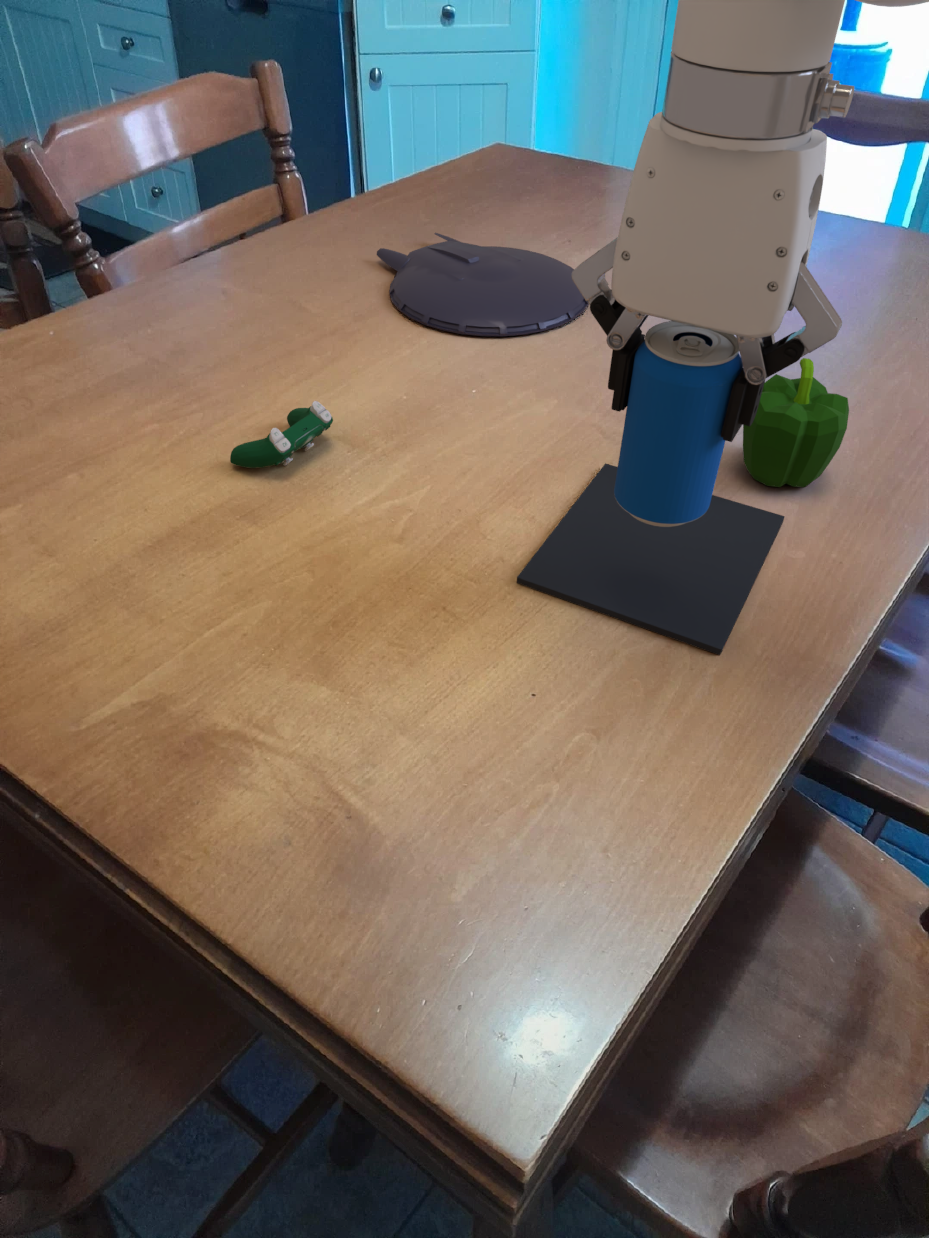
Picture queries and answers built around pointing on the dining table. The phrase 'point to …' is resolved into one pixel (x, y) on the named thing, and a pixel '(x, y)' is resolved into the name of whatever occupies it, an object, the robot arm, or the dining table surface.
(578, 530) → the mat
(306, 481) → the dining table surface
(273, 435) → the gaming controller
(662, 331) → the beverage can
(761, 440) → the bell pepper
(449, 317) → the toy spaceship
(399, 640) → the dining table surface
